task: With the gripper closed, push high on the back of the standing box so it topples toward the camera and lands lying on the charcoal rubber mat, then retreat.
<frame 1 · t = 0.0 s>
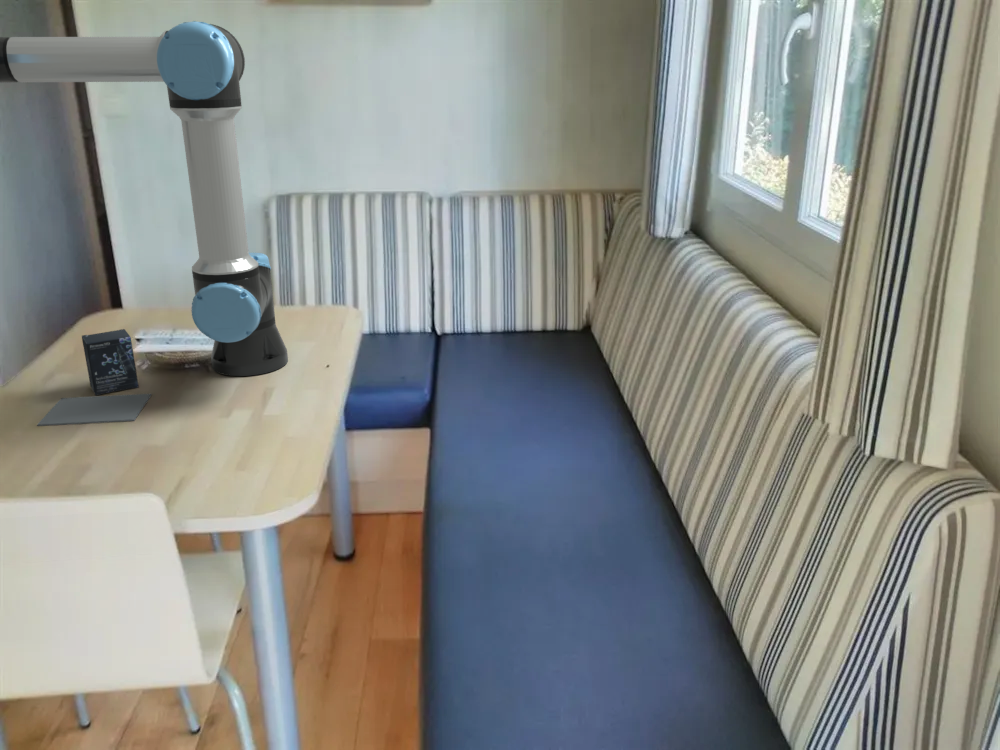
mat: (97, 409, 153), on the table
box: (115, 388, 163), on the table
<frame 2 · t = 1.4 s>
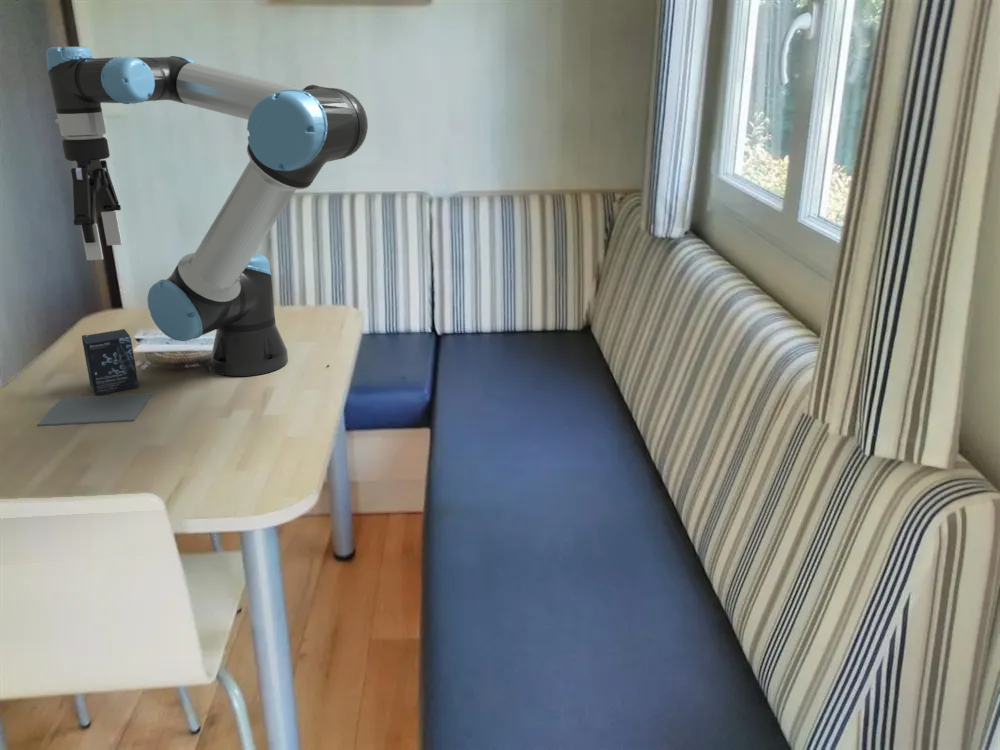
hand: (105, 252, 162), 24 cm above the table, fingers open, 13 cm apart
nothing on the table moved.
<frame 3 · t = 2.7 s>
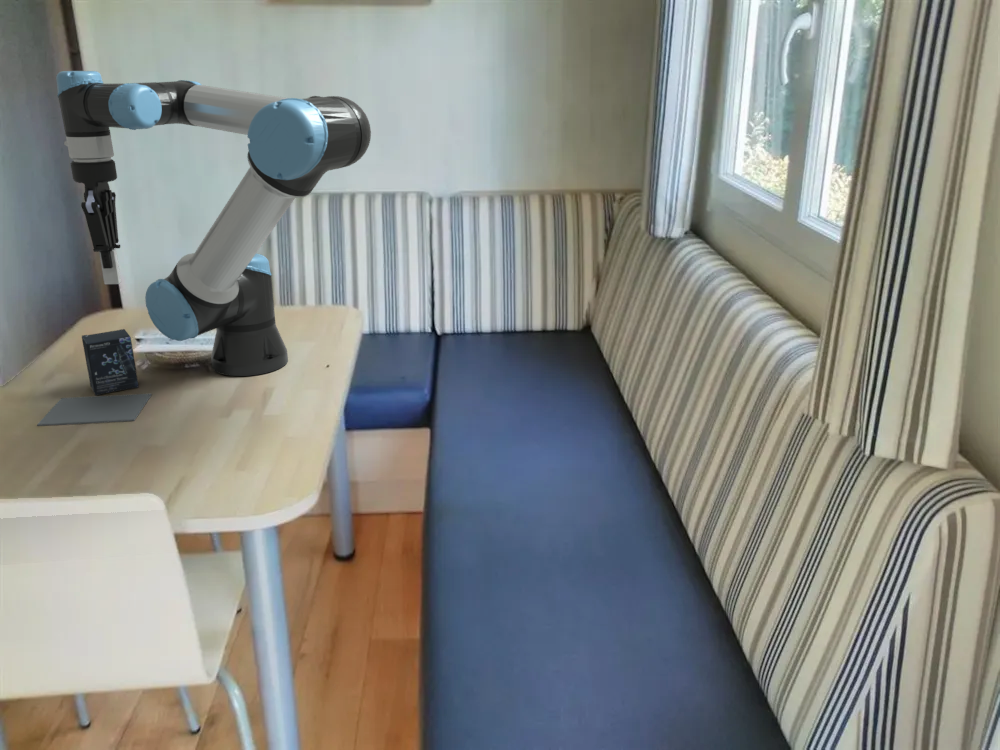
hand: (112, 283, 165), 18 cm above the table, fingers closed
nothing on the table moved.
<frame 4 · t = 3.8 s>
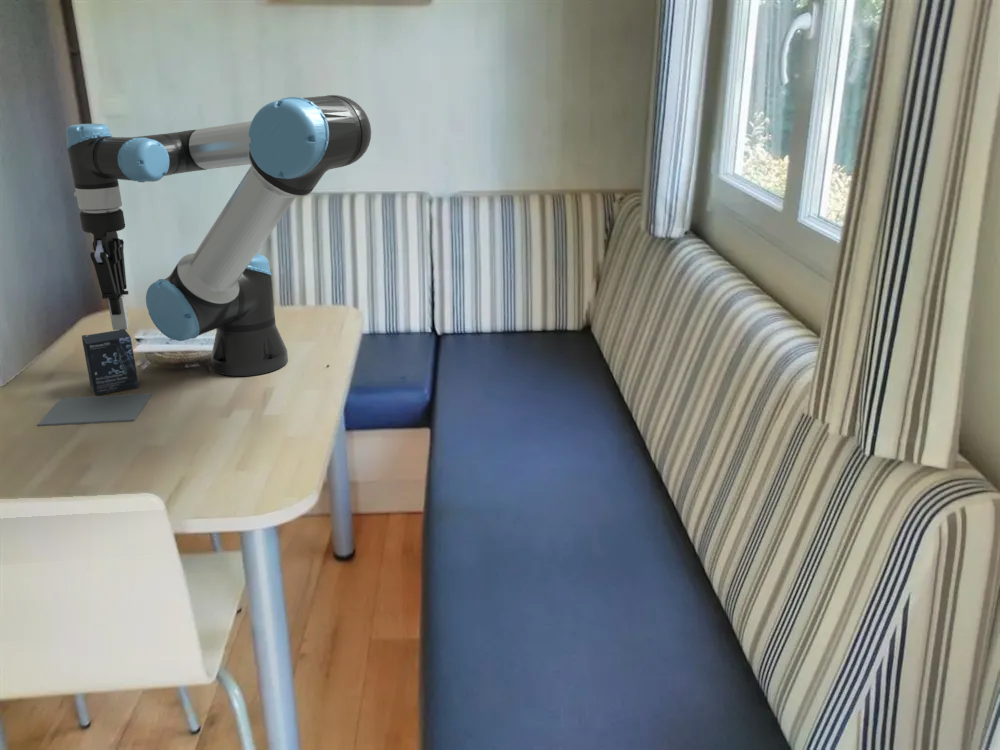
hand: (121, 328, 168), 9 cm above the table, fingers closed
nothing on the table moved.
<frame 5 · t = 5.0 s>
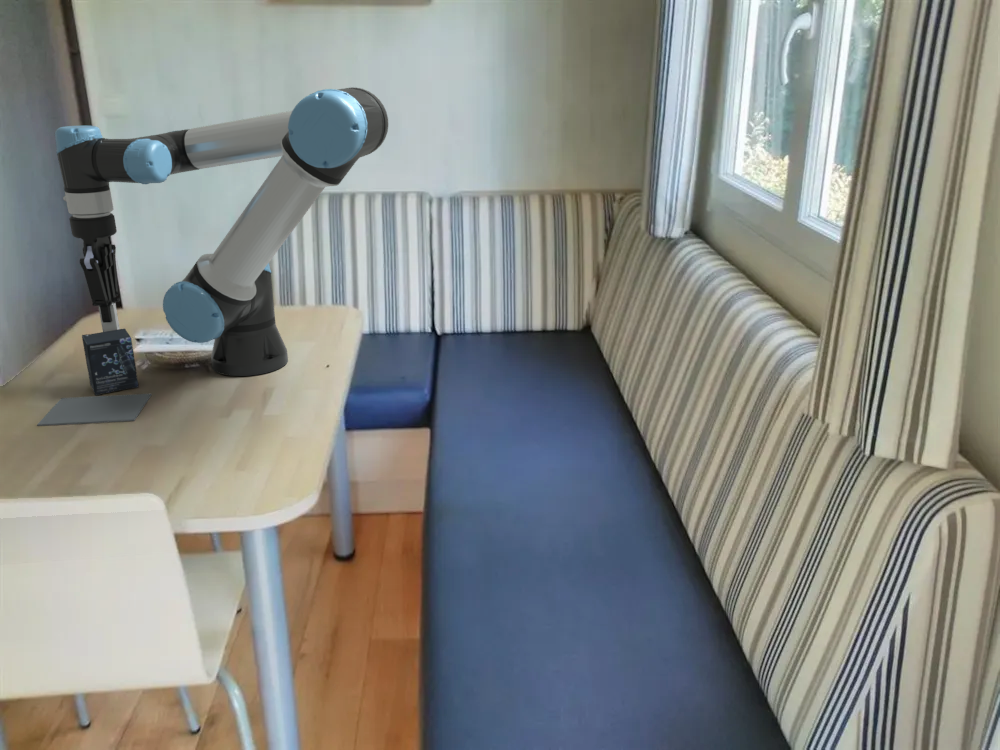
hand: (112, 336, 163), 9 cm above the table, fingers closed
box: (115, 387, 163), on the table, touching gripper
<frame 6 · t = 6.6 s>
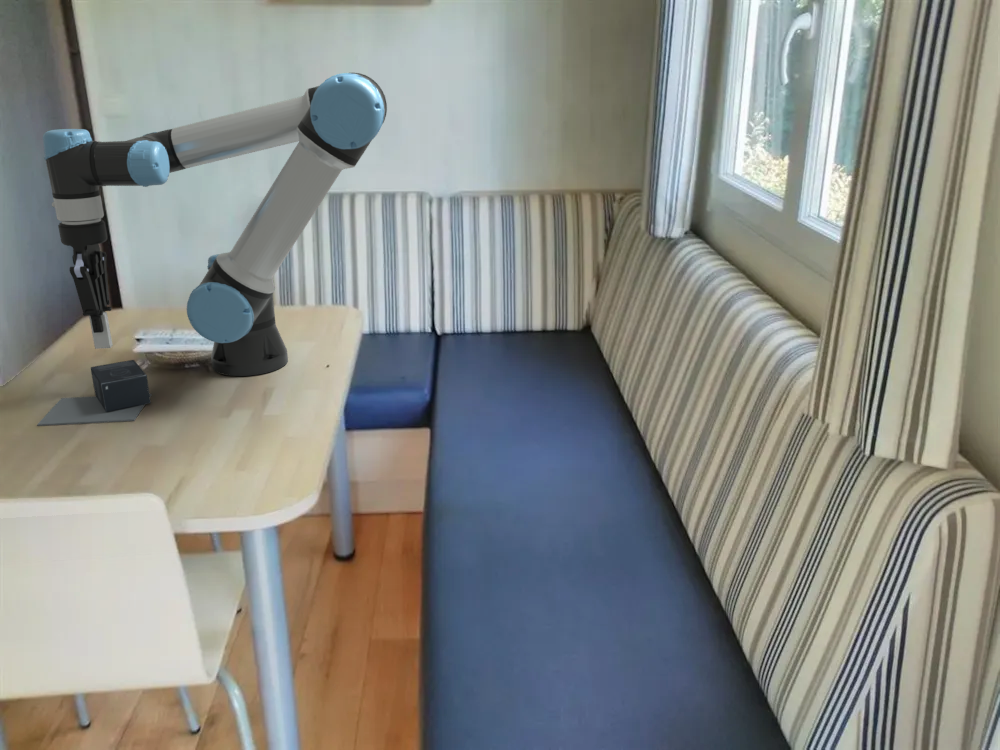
hand: (103, 346, 158), 9 cm above the table, fingers closed
box: (114, 376, 160), point 3 cm above the table, touching mat
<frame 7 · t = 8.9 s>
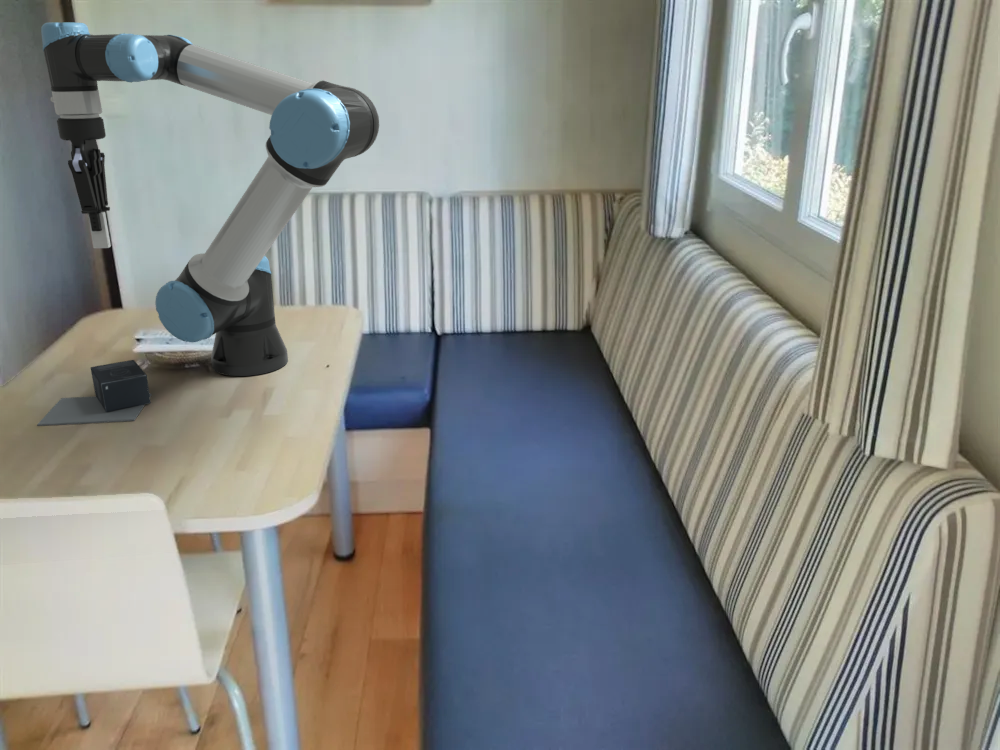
hand: (102, 247, 159), 26 cm above the table, fingers closed
nothing on the table moved.
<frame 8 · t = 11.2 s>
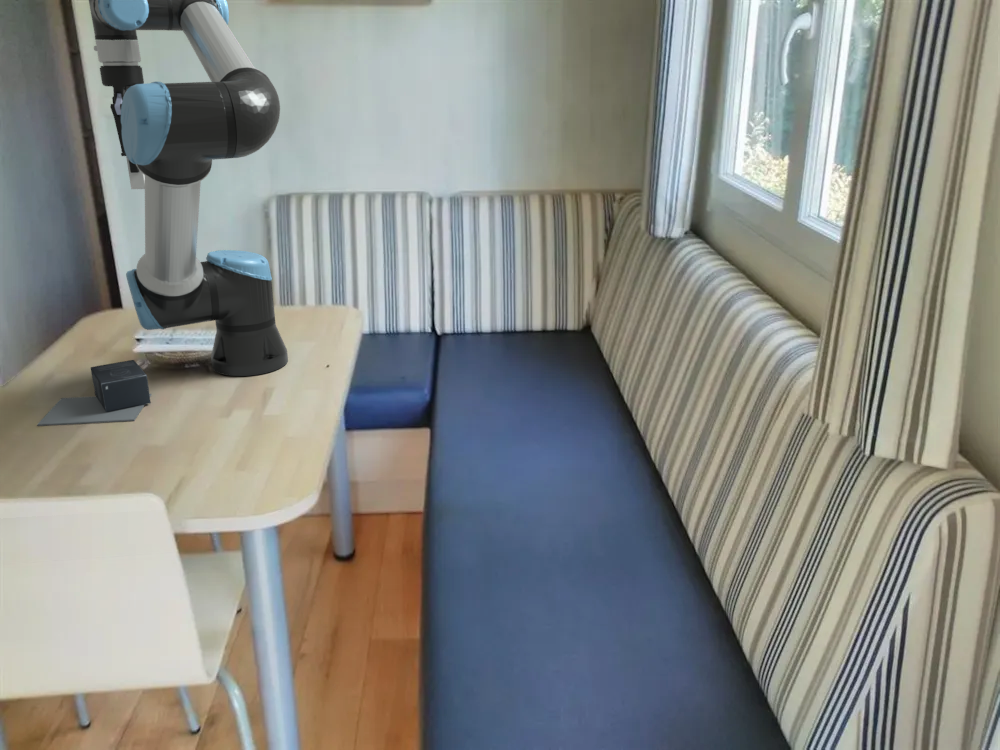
hand: (139, 188, 171), 34 cm above the table, fingers closed
nothing on the table moved.
at the end: box tilted 89°; box inside the target area (7.4 cm from its centre), point 3.0 cm above the table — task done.
